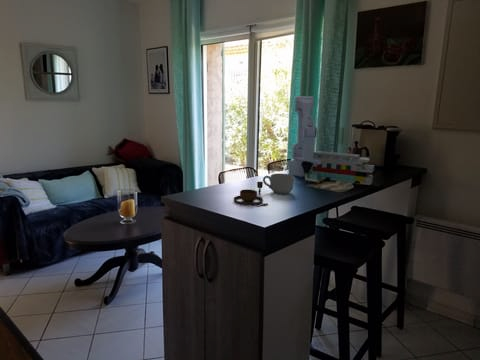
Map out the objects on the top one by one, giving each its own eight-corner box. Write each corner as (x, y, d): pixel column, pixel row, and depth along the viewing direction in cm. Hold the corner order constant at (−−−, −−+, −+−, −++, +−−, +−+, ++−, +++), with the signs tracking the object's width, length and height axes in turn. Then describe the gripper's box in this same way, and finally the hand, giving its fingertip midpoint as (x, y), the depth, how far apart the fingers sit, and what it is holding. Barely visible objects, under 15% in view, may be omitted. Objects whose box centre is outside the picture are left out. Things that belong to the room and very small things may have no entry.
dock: (305, 187, 176) (305, 180, 175) (318, 183, 186) (318, 176, 185) (341, 194, 164) (342, 186, 163) (353, 189, 175) (353, 182, 174)
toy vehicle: (370, 187, 176) (373, 158, 173) (311, 180, 190) (313, 152, 186) (372, 184, 183) (375, 156, 180) (315, 177, 197) (317, 150, 194)
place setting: (223, 200, 147) (223, 186, 145) (258, 193, 159) (259, 181, 158) (250, 210, 133) (251, 195, 132) (287, 202, 146) (288, 188, 145)
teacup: (294, 191, 163) (295, 174, 161) (291, 197, 153) (292, 179, 151) (265, 188, 167) (266, 172, 165) (260, 193, 156) (261, 176, 155)
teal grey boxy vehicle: (304, 183, 179) (305, 172, 178) (311, 181, 185) (311, 171, 184) (317, 185, 175) (317, 174, 174) (323, 182, 180) (323, 172, 179)
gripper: (291, 149, 181) (290, 175, 184) (317, 152, 172) (315, 179, 175) (298, 148, 186) (297, 173, 189) (324, 151, 177) (321, 177, 180)
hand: (306, 176), depth 182 cm, fingers closed
